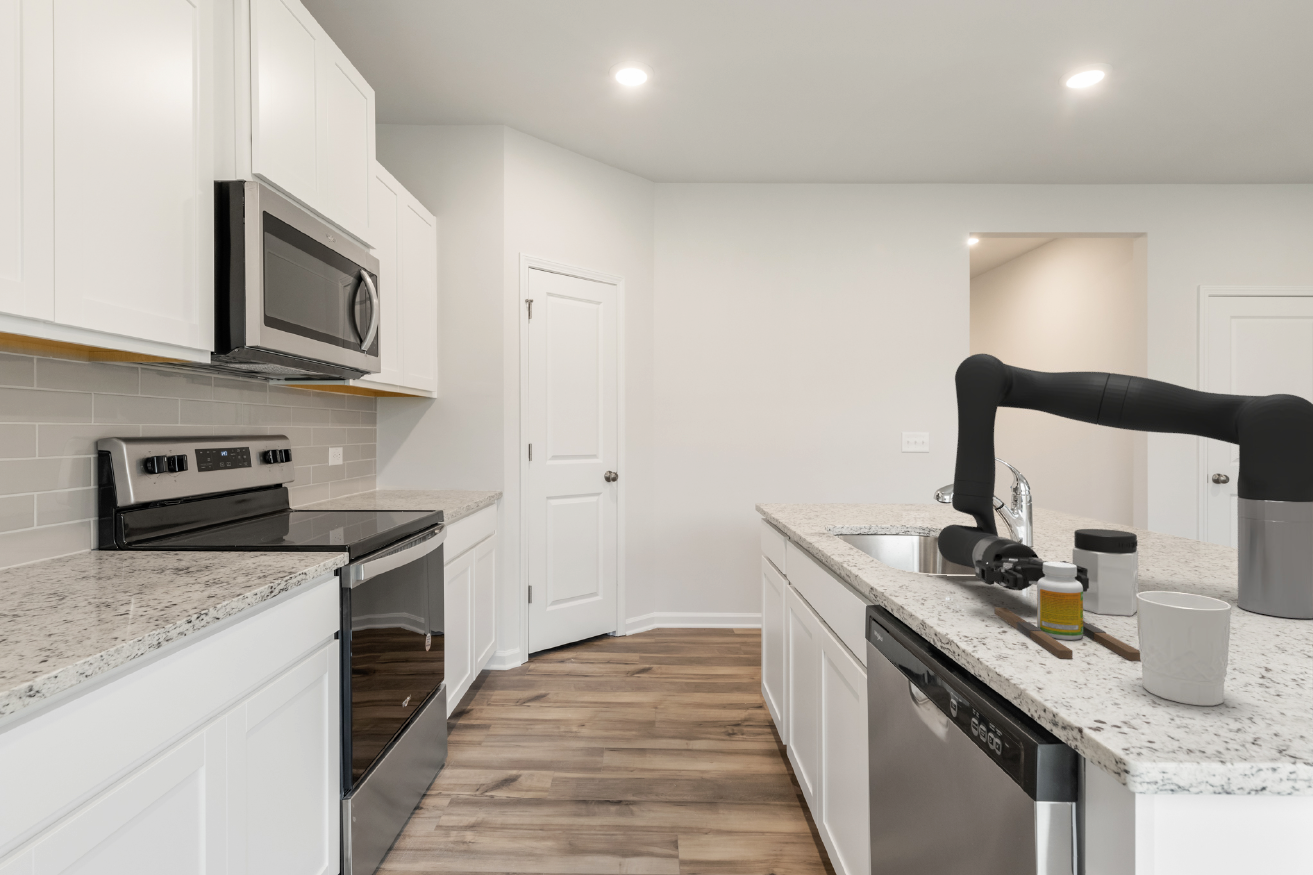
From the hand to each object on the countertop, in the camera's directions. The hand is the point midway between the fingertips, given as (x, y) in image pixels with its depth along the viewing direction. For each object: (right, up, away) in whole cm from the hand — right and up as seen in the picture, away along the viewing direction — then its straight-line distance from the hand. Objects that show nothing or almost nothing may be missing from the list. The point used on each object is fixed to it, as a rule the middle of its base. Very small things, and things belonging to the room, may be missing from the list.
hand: (1052, 583), depth 92 cm
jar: (+15, -6, +11) cm, 19 cm away
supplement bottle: (0, -7, -2) cm, 7 cm away
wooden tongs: (0, -6, -2) cm, 7 cm away
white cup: (0, -7, -23) cm, 24 cm away
